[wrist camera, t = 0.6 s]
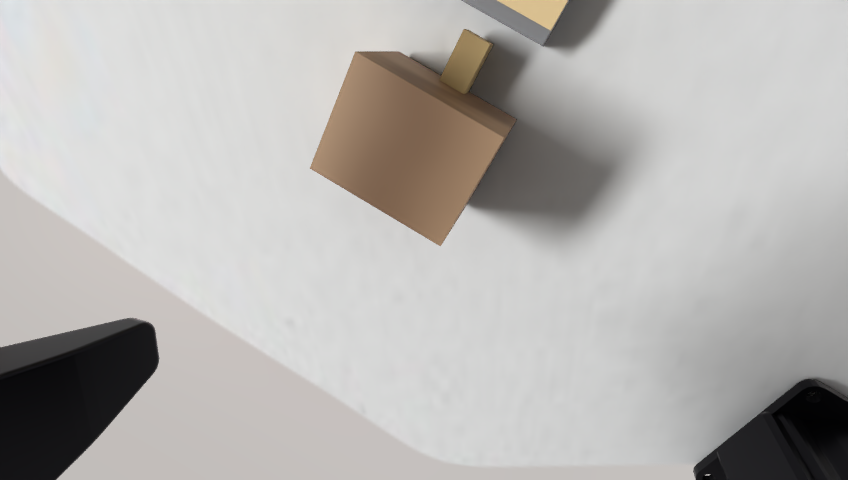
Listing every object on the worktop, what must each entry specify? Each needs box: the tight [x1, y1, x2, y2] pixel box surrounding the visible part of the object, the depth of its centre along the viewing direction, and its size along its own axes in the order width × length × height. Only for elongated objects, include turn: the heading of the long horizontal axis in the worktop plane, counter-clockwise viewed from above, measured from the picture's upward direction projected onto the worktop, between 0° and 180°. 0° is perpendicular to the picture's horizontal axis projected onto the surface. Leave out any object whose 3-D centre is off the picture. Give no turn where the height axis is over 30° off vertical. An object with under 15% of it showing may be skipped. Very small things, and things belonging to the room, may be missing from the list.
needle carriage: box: [310, 29, 517, 246], centre depth 16 cm, size 5×6×4 cm
